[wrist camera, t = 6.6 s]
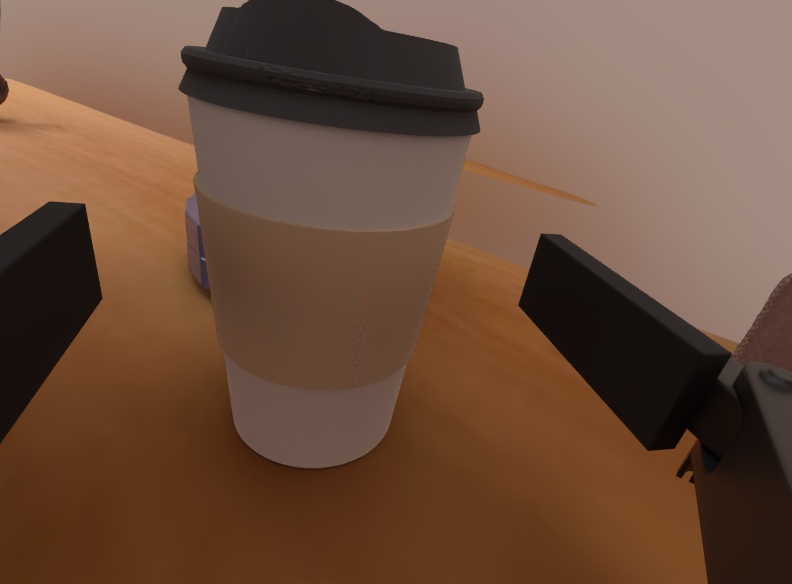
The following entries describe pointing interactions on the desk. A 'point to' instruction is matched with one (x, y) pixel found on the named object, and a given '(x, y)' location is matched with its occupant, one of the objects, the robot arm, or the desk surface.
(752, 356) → the letter holder
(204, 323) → the desk surface
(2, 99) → the brown curved piece
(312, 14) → the coffee cup
